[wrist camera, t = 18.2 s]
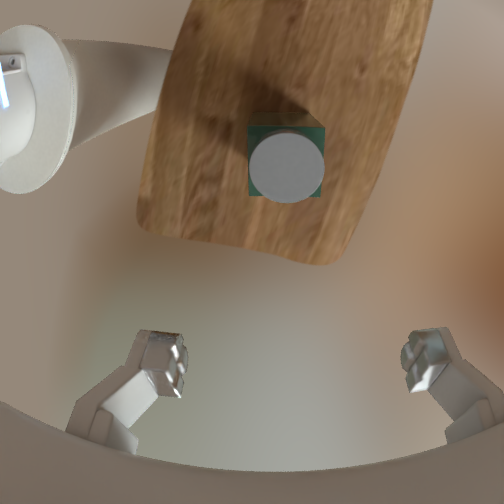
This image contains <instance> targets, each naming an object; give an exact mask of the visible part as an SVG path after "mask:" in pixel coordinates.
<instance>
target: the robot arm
mask: <svg viewBox="0 0 504 504" xmlns="http://www.w3.org/2000/svg"><path fill="white" fill-rule="evenodd" d="M35 116H36V101H35V94H34V89H33V86H32V83H31V81H30V79H29V76H28V74H27V64H26V56H25V54H23V53H10V54H0V166H2V165H3V164H4V163H5V162H6V161H7V159H8V158H9V157H12V156H14V155H17V154H19V153H20V152H21V151H22V150H23V149H24V148H25V147H26V145H27V144H28V142H29V140H30V138H31V135H32V132H33V128H34V124H35ZM408 338H409V342H407V343H406V344H405V345H404V346H403V348H402V350H401V364H402V368H403V369H404V370H405V371H406V372H407V375H406V382H407V385H408V388H409V392H416V391H423V390H428V392H429V393H430V394H431V395H432V396H433V397H434V399H435V400H436V401H437V402H438V403H439V404H440V405H441V406H442V408H443V409H444V410H445V411H446V412H447V414H448V415H449V416H450V417H451V418H452V419H453V421H454V422H453V423H452V424H451V425H450V426H448V427H447V428H446V430H445V435H446V439H447V445H444V446H441V447H438V448H435V449H431V450H428V451H424V452H421V453H417V454H413V455H409V456H406V457H401V458H397V459H393V460H387V461H383V462H378V463H372V464H366V465H359V466H353V467H346V468H336V469H328V470H327V469H326V470H315V471H295V472H254V471H235V470H223V469H213V468H204V467H197V466H190V465H183V464H177V463H171V462H166V461H161V460H156V459H152V458H147V457H143V456H139V455H136V451H137V446H138V442H139V440H138V438H137V437H136V436H135V435H134V434H133V433H132V432H131V431H130V430H129V429H128V428H129V427H130V426H131V425H132V424H133V423H134V422H135V421H136V420H137V419H138V418H139V417H140V416H141V415H142V414H143V413H144V412H145V410H146V409H147V408H148V407H149V406H150V405H151V404H152V403H153V402H154V401H155V400H156V399H157V398H158V395H161V396H168V397H177V398H180V397H181V393H182V388H183V384H184V381H183V379H182V375H183V374H185V373H186V371H187V366H188V352H187V349H186V347H185V346H184V345H183V341H184V339H183V337H182V334H176V333H168V332H159V331H150V330H140V331H139V332H138V333H137V335H136V338H135V340H134V343H133V345H132V348H131V351H130V353H129V356H128V358H127V361H126V364H125V366H120V367H119V368H117V369H116V370H115V371H114V372H112V373H111V374H110V375H109V376H107V377H106V378H105V379H104V380H103V381H101V382H100V383H98V384H97V385H96V386H95V387H94V388H92V389H91V390H90V391H88V392H87V393H86V394H85V395H83V396H82V397H81V398H80V399H78V400H77V401H76V404H75V406H74V409H73V411H72V414H71V417H70V420H69V422H68V425H67V428H66V431H65V432H64V431H62V430H59V429H57V428H55V427H52V426H50V425H48V424H46V423H43V422H41V421H39V420H37V419H35V418H33V417H31V416H29V415H27V414H25V413H23V412H21V411H19V410H17V409H15V408H13V407H12V406H10V405H8V404H6V403H4V402H1V401H0V504H504V394H503V391H502V390H501V389H500V388H499V387H497V386H496V385H495V384H494V383H493V382H491V381H490V380H489V379H488V378H487V377H486V376H485V375H483V374H482V373H481V372H480V371H479V370H477V369H476V368H475V367H474V366H473V365H472V364H470V363H469V362H468V361H467V360H462V357H461V355H460V353H459V350H458V348H457V346H456V344H455V341H454V339H453V337H452V335H451V333H450V331H449V329H448V328H447V327H441V328H431V329H423V330H415V331H412V332H411V333H410V335H409V337H408Z"/></svg>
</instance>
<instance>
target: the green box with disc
mask: <svg viewBox="0 0 504 504" xmlns="http://www.w3.org/2000/svg"><path fill="white" fill-rule="evenodd" d="M247 142H248V182H249V196H265V197H267V198H268V199H270V200H273V201H276V202H280V203H293V202H298V201H301V200H303V199H305V198H307V197H320V195H321V183H322V179H323V176H324V160H323V157H324V142H325V127H324V126H323V125H322V124H321V123H320V122H319V121H317V120H316V119H315V118H314V117H313V116H312V115H311V114H310V113H289V112H253V114H252V116H251V118H250V121H249V123H248V125H247Z"/></svg>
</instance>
